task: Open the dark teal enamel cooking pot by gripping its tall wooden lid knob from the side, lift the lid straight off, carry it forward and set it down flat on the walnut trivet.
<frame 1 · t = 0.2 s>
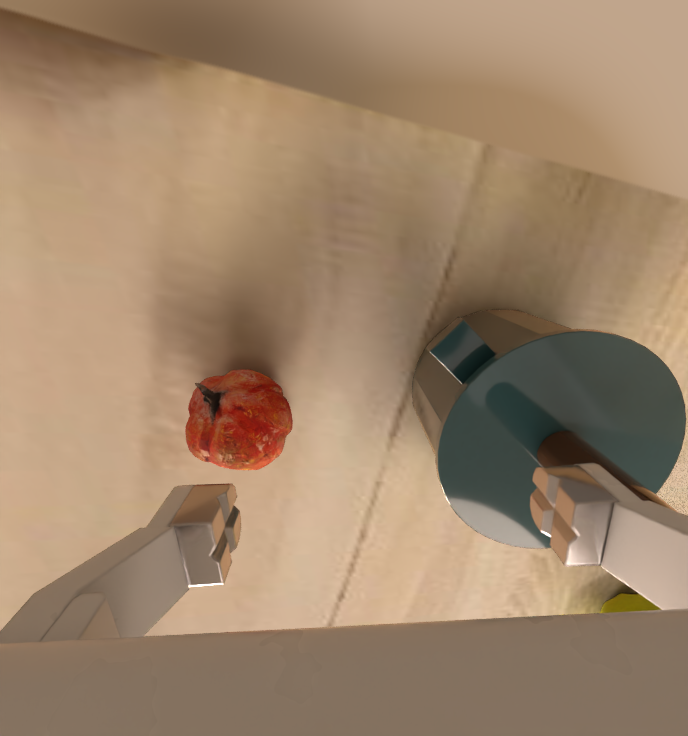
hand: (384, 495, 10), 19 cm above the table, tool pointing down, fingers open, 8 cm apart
fruit: (616, 603, 37), on the table
lid: (554, 445, 20), point 9 cm above the table, touching pot
pomegranate: (252, 401, 30), on the table
pot: (488, 385, 30), on the table
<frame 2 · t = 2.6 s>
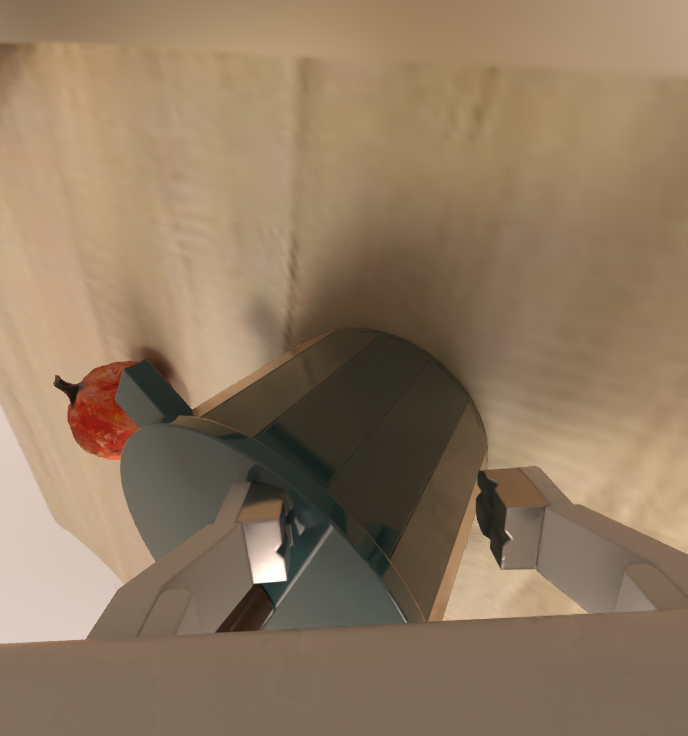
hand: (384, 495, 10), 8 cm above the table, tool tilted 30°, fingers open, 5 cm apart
lid: (257, 574, 13), point 10 cm above the table, touching gripper, pot
pomegranate: (167, 389, 31), on the table
pot: (371, 432, 21), on the table
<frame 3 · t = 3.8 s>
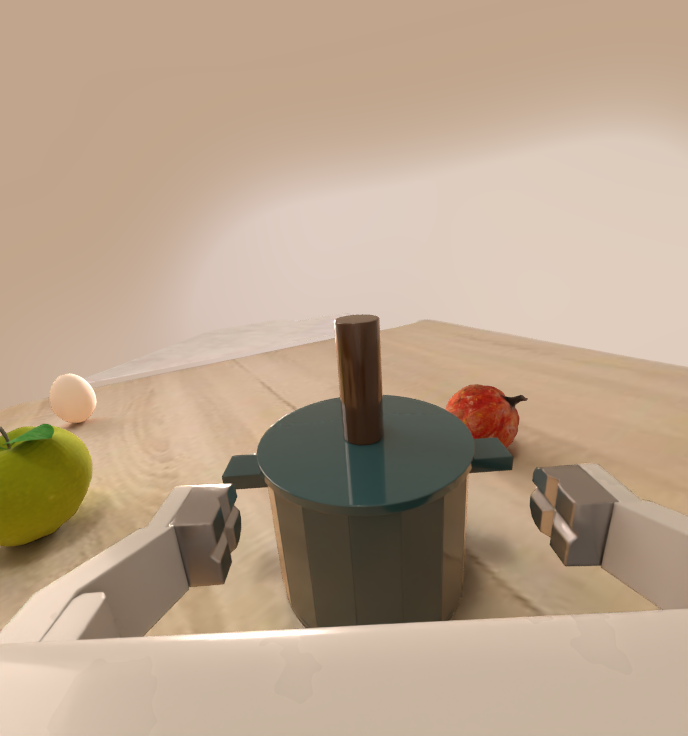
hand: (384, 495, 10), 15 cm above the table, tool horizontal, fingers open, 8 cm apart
fruit: (43, 530, 32), on the table
lid: (364, 443, 23), point 9 cm above the table, touching pot
egg: (80, 422, 54), on the table
pomegranate: (478, 448, 40), on the table
pot: (372, 563, 26), on the table
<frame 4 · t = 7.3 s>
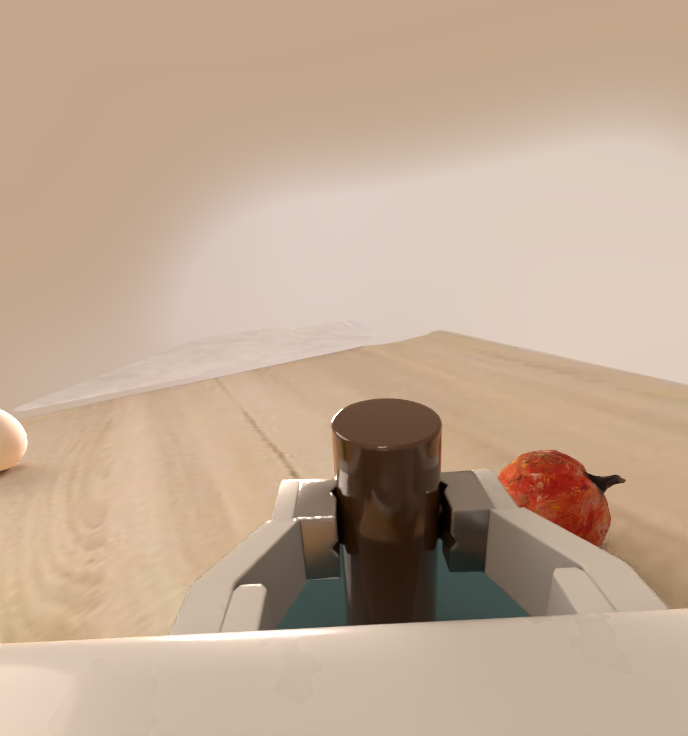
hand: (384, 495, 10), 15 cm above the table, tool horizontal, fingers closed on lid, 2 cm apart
lid: (391, 658, 11), point 10 cm above the table, touching gripper, pot
egg: (6, 469, 41), on the table
pomegranate: (541, 541, 27), on the table
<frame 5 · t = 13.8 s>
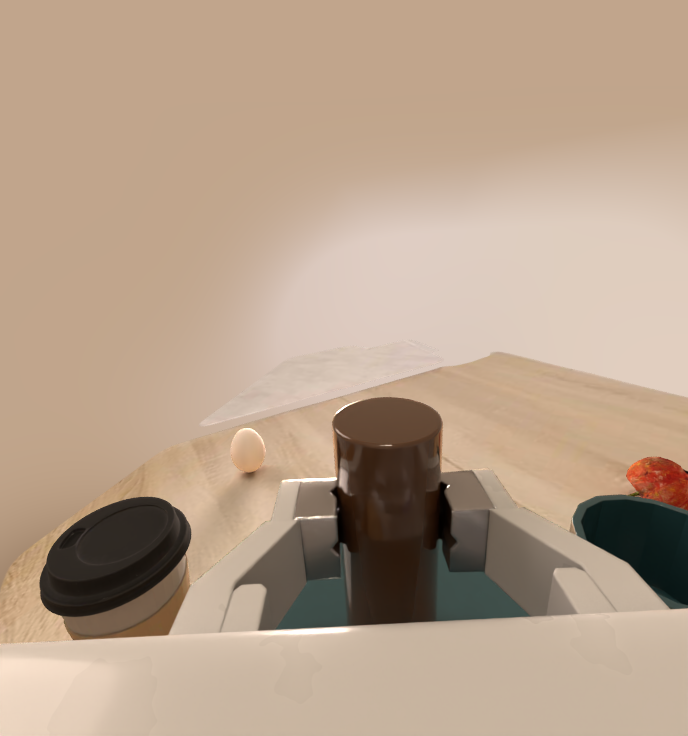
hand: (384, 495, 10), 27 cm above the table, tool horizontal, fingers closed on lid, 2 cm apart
lid: (391, 656, 11), point 21 cm above the table, touching gripper
coffee cup: (161, 677, 31), on the table
egg: (251, 471, 59), on the table
pomegranate: (651, 511, 46), on the table
pot: (640, 631, 32), on the table
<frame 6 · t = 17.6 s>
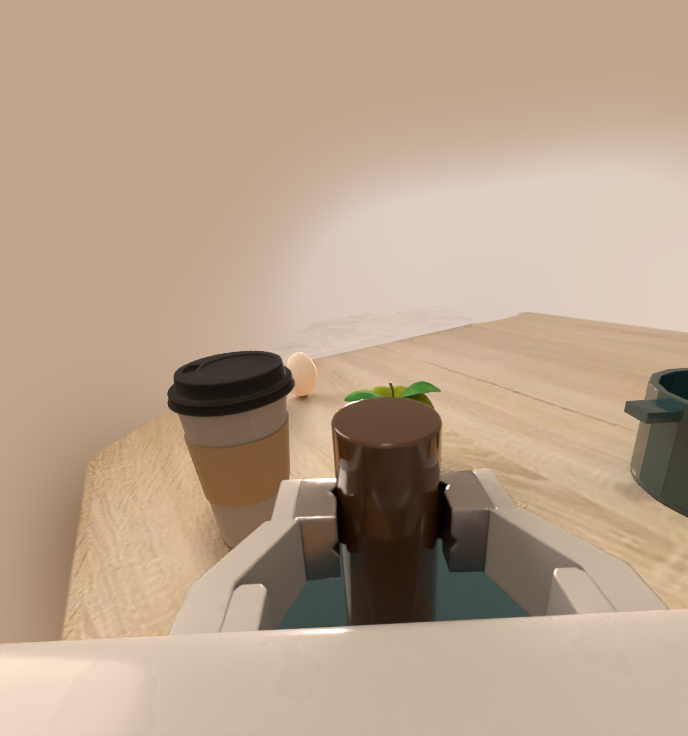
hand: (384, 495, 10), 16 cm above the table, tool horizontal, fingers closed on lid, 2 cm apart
fruit: (393, 471, 39), on the table
lid: (391, 656, 11), point 11 cm above the table, touching gripper
coffee cup: (257, 527, 32), on the table
egg: (303, 396, 61), on the table
when the fingers open (7 cm above the table, at t = 20.3 s): lid stays where it is, resting on trivet.
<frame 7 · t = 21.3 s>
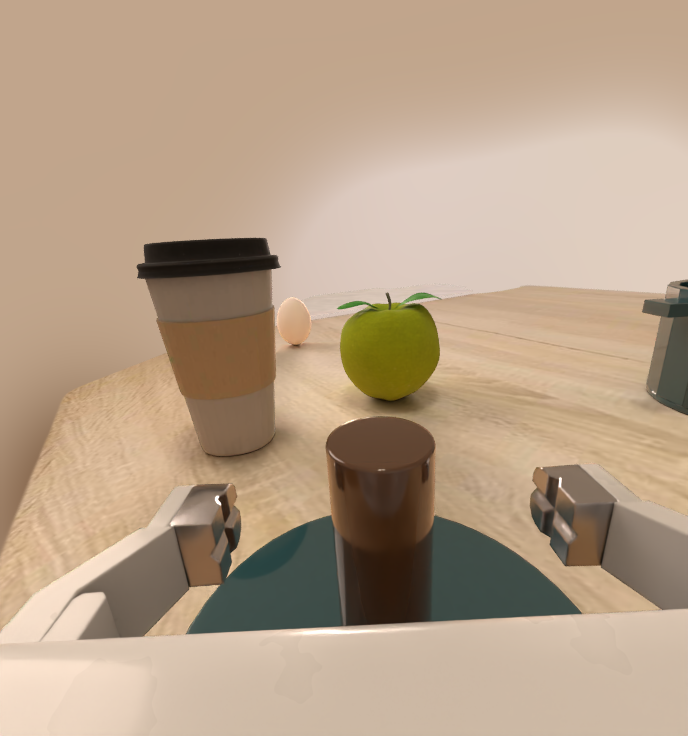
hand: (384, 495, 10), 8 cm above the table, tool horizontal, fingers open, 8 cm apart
fruit: (390, 396, 36), on the table
lid: (387, 671, 11), point 2 cm above the table, touching trivet
coffee cup: (240, 439, 30), on the table
egg: (296, 345, 58), on the table
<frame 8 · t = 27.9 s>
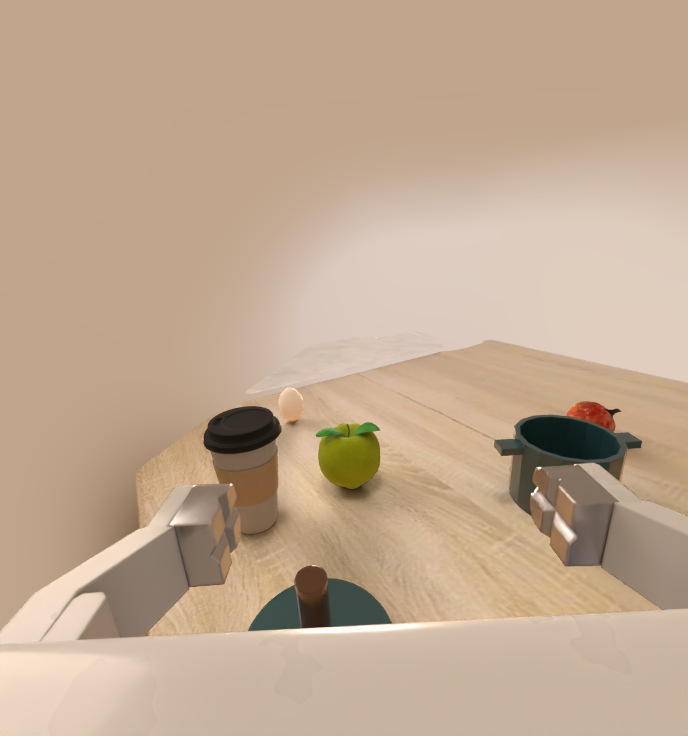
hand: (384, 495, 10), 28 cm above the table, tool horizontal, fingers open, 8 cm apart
fruit: (351, 482, 56), on the table
lid: (319, 650, 31), point 2 cm above the table, touching trivet
coffee cup: (257, 519, 50), on the table
egg: (292, 421, 78), on the table
pomegranate: (585, 440, 64), on the table
pot: (558, 496, 50), on the table
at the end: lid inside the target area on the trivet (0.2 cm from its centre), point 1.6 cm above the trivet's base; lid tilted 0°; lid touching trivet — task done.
